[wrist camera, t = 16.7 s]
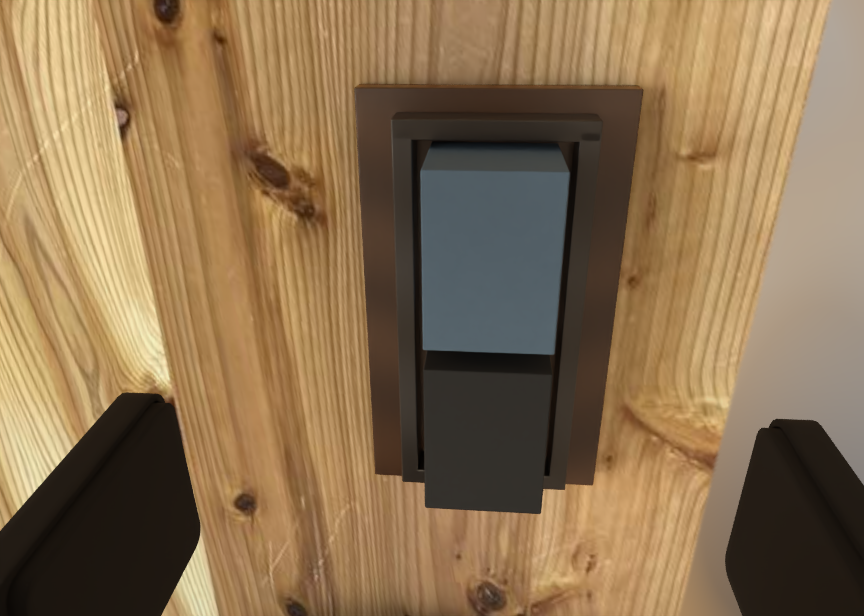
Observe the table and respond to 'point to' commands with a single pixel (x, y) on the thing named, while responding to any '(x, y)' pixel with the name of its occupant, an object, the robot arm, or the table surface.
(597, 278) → the backing board
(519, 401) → the pad
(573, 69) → the table surface
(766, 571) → the robot arm
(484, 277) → the blue-grey rectangular block
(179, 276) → the table surface
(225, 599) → the table surface
